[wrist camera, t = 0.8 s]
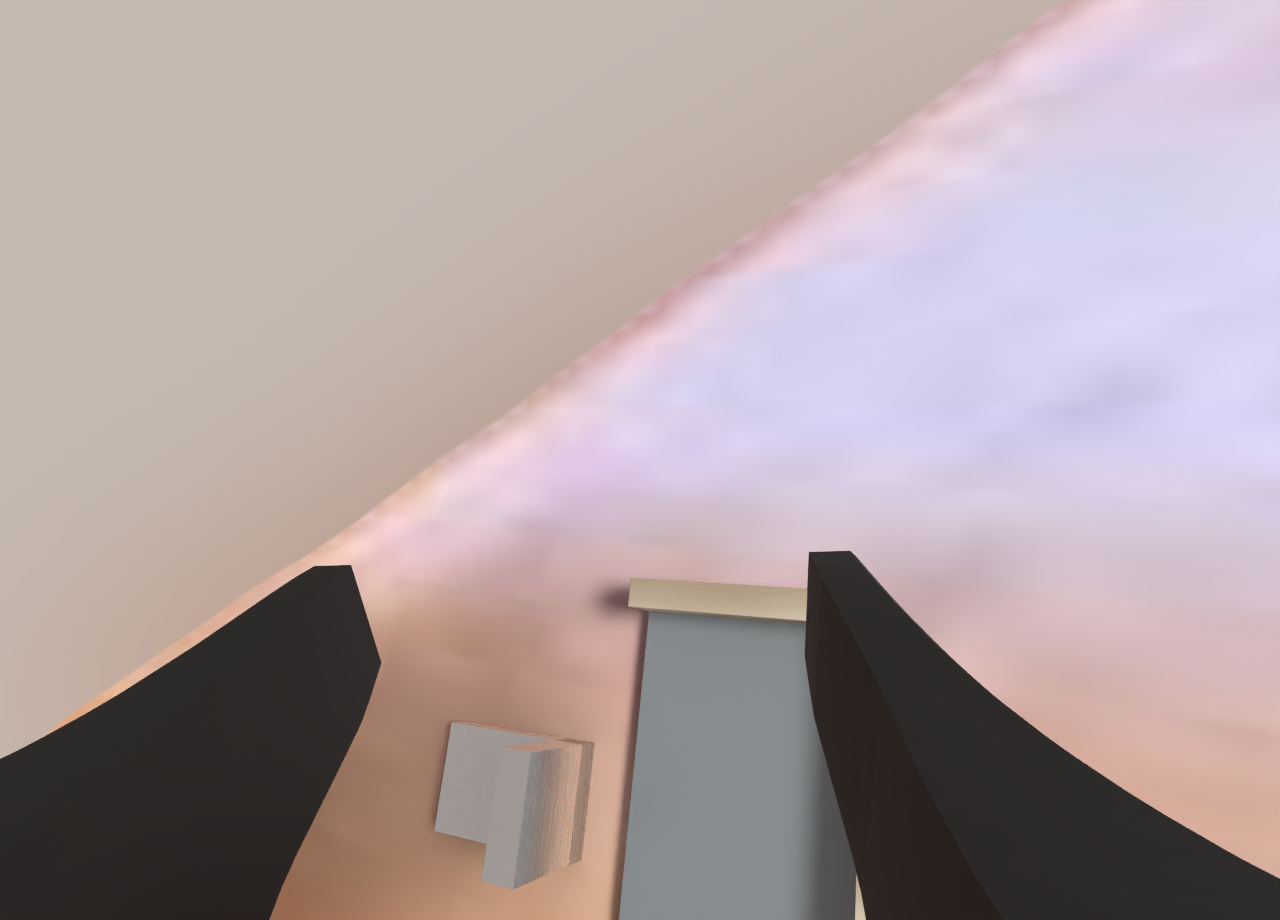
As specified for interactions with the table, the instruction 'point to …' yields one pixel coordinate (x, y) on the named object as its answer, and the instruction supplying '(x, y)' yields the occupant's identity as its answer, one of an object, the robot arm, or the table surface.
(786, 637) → the board
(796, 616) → the side wall
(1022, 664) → the table surface
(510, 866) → the bracket
